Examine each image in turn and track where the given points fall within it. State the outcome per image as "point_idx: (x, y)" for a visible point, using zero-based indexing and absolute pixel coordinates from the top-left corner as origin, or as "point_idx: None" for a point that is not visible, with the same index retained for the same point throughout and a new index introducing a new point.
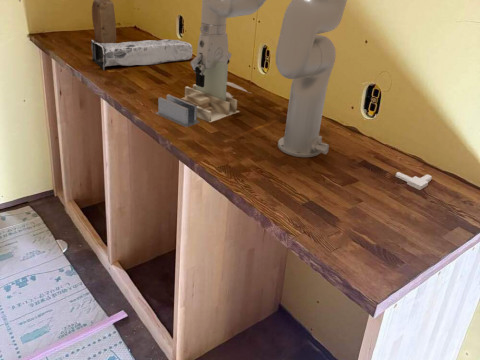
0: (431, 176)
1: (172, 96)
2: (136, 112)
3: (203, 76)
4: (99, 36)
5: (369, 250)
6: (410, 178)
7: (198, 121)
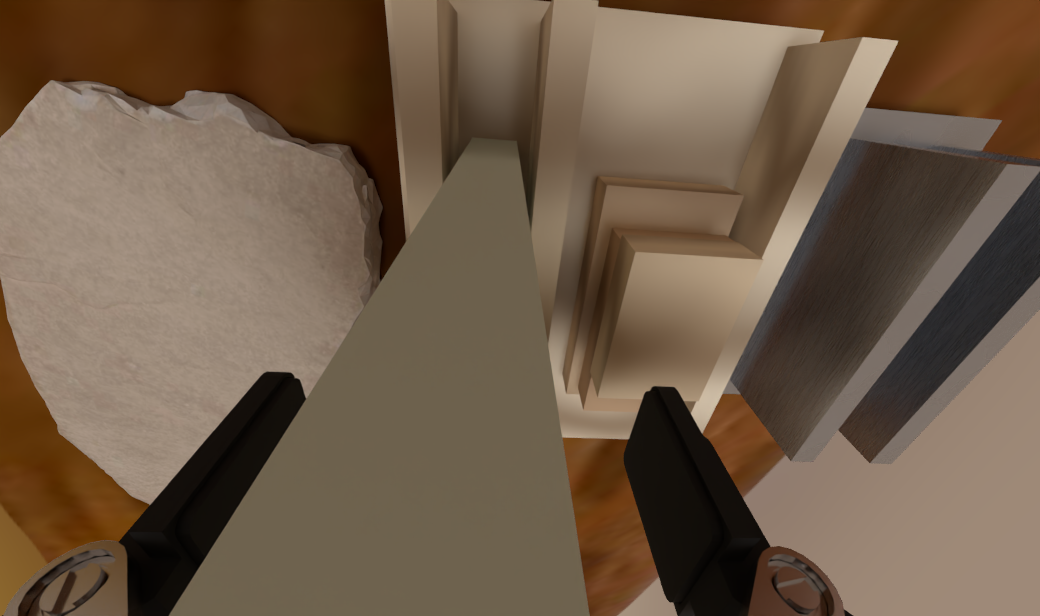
0: None
1: (817, 435)
2: (772, 451)
3: (743, 516)
4: None
5: None
6: None
7: None
